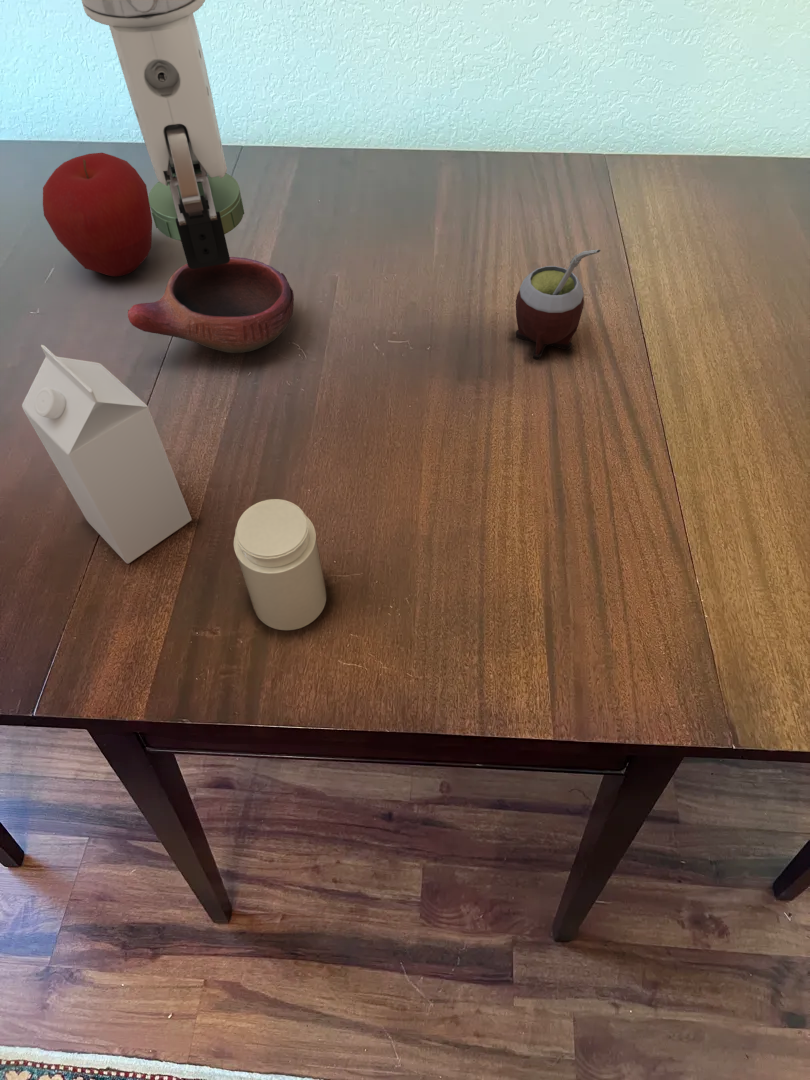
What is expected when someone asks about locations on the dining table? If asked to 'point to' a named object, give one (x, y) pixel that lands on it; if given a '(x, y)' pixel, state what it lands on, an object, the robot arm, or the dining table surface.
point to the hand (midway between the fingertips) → (203, 234)
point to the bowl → (221, 306)
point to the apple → (100, 213)
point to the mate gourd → (550, 306)
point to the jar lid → (222, 193)
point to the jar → (280, 564)
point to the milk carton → (106, 453)
